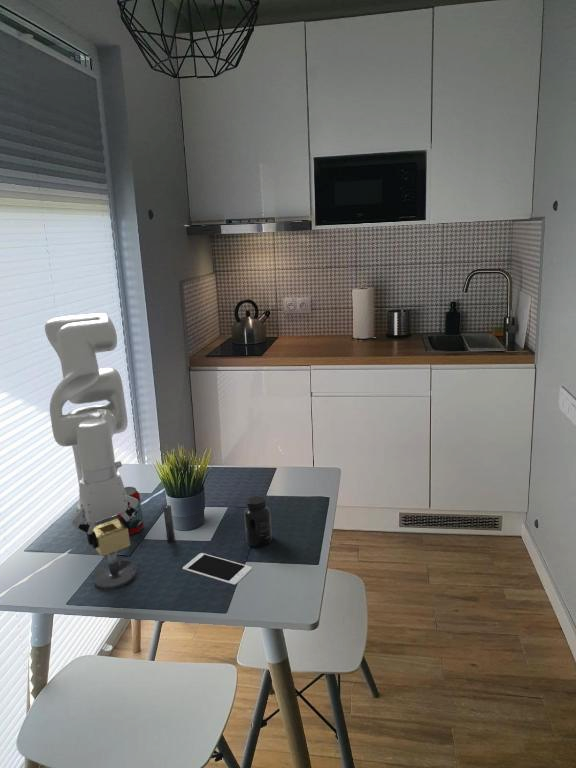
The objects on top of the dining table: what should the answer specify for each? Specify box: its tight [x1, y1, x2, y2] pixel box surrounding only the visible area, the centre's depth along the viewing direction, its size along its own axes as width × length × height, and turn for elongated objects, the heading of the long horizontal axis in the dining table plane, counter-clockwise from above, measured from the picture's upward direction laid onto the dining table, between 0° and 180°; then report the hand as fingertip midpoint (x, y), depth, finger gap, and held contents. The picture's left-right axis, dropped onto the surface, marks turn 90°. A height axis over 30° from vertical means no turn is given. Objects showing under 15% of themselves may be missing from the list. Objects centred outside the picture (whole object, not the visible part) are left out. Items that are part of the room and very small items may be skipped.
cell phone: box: [182, 552, 253, 586], centre depth 146 cm, size 8×16×1 cm, turn 60°
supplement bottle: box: [243, 495, 273, 548], centre depth 155 cm, size 7×7×12 cm
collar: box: [93, 518, 131, 557], centre depth 141 cm, size 7×7×4 cm
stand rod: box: [162, 504, 176, 543], centre depth 158 cm, size 2×2×10 cm
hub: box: [93, 551, 138, 590], centre depth 143 cm, size 10×10×8 cm
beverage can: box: [116, 486, 144, 535], centre depth 165 cm, size 7×7×12 cm
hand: (109, 539), depth 142 cm, fingers closed on collar, 7 cm apart
